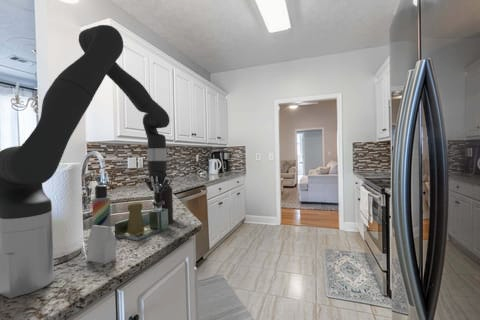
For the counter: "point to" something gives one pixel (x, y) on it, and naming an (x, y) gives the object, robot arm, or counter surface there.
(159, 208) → the ram
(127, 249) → the counter surface
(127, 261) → the counter surface
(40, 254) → the robot arm
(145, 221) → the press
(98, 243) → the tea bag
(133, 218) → the cork
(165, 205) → the vinegar
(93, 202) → the lotion bottle
